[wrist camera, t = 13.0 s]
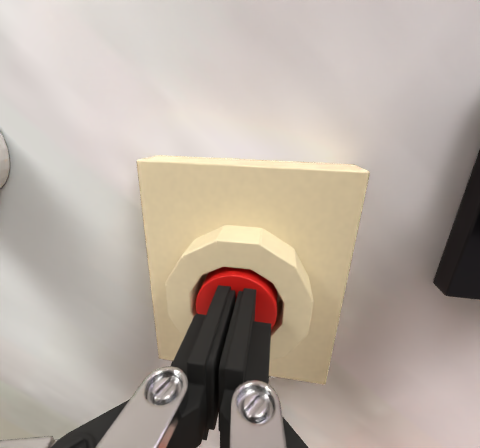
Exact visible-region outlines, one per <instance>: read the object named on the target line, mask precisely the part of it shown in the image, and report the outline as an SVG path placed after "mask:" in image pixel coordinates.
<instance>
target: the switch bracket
mask: <svg viewBox="0 0 480 448" xmlns="http://www.w3.org/2000/svg"><path fill="white" fill-rule="evenodd" d="M433 283H434V284H435V285H436V286H437V287H438V288H439V289H440V291H441V292H442V293H443V294H444V295H446V296H451V297H461V298H470V299H479V300H480V150H479V153H478V156H477V159H476V162H475V165H474V167H473V170H472V173H471V176H470V179H469V182H468V184H467V187H466V190H465V193H464V196H463V199H462V202H461V204H460V207H459V210H458V213H457V216H456V219H455V221H454V224H453V227H452V230H451V233H450V236H449V239H448V241H447V244H446V247H445V250H444V253H443V256H442V258H441V261H440V264H439V267H438V270H437V273H436V276H435V278H434V281H433Z"/></svg>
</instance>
